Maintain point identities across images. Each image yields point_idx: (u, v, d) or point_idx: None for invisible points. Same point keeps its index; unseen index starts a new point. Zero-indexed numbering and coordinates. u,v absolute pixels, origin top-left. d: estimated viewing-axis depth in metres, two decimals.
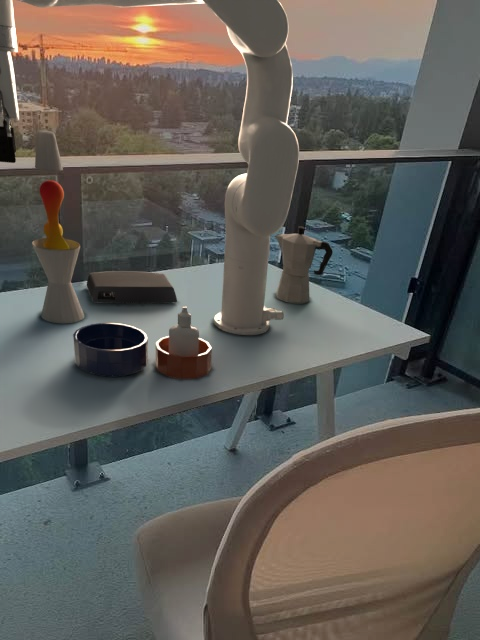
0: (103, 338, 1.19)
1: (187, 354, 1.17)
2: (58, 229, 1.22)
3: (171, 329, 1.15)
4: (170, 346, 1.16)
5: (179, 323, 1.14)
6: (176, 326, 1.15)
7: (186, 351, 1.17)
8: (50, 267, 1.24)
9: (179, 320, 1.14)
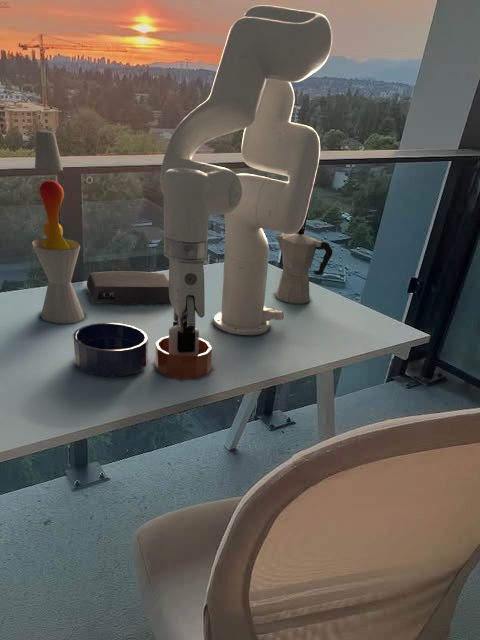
0: (103, 338, 1.19)
1: (187, 354, 1.17)
2: (58, 229, 1.22)
3: (171, 329, 1.15)
4: (170, 346, 1.16)
5: None
6: (176, 326, 1.15)
7: None
8: (50, 267, 1.24)
9: None
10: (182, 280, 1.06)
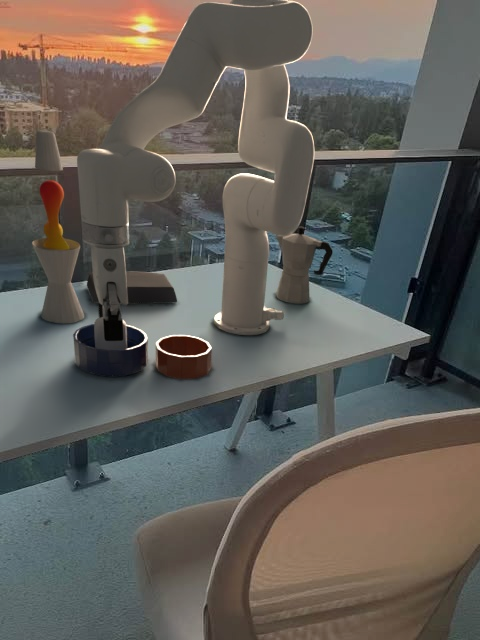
0: None
1: (114, 347, 1.14)
2: (58, 229, 1.22)
3: (96, 321, 1.12)
4: (96, 339, 1.13)
5: (104, 315, 1.11)
6: (101, 318, 1.12)
7: (112, 344, 1.13)
8: (50, 267, 1.24)
9: None
10: (101, 266, 1.02)
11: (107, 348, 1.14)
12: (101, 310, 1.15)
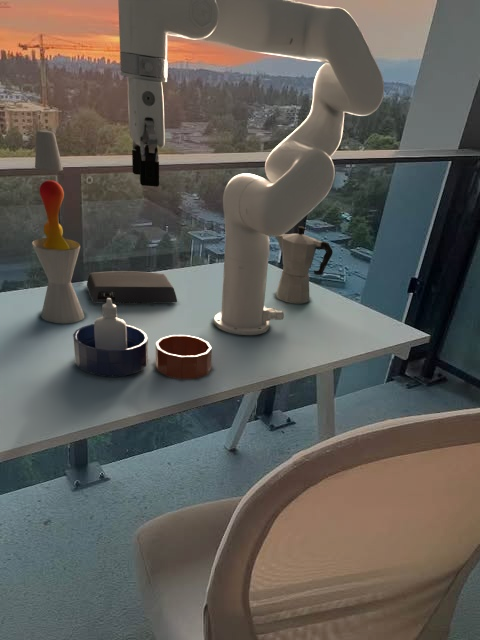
0: None
1: (114, 347, 1.14)
2: (58, 229, 1.22)
3: (96, 321, 1.12)
4: (96, 339, 1.13)
5: (104, 315, 1.11)
6: (101, 318, 1.12)
7: (112, 344, 1.13)
8: (50, 267, 1.24)
9: (104, 312, 1.11)
10: (139, 99, 1.01)
11: (107, 348, 1.14)
12: (135, 163, 1.14)
